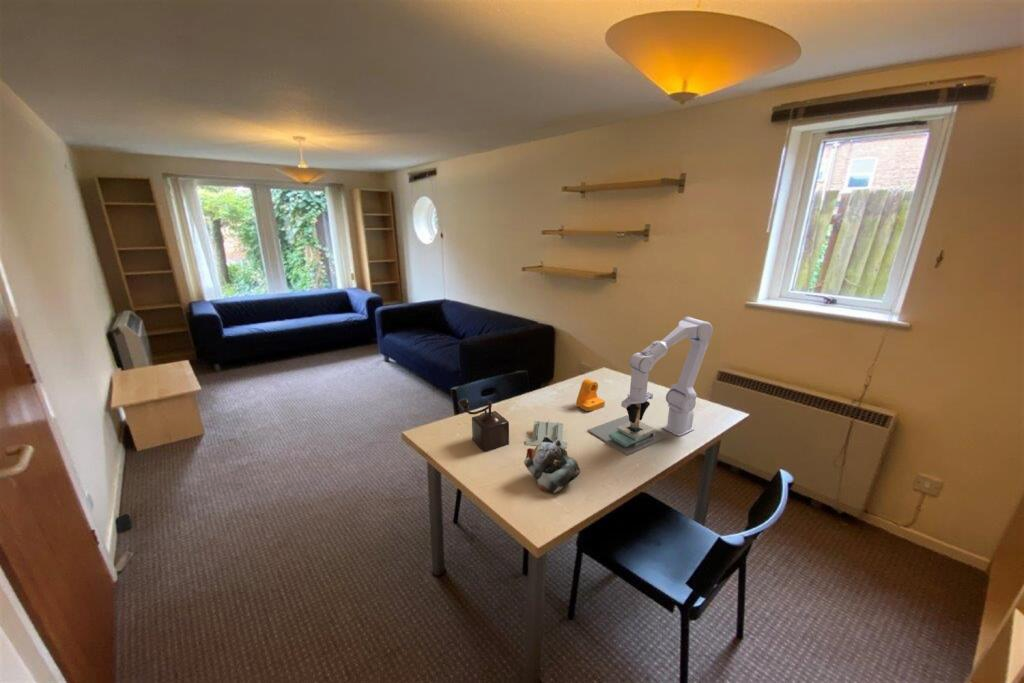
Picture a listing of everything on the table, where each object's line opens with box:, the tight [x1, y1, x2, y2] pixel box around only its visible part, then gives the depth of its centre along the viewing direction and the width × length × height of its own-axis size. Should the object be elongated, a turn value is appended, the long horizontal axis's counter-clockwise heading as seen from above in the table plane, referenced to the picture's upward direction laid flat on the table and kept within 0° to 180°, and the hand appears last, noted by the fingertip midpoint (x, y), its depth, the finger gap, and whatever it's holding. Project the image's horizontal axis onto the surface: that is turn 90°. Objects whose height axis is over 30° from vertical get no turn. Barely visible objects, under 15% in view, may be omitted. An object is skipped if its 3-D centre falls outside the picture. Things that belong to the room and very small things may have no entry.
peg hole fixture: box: [609, 420, 656, 447], centre depth 146 cm, size 15×9×4 cm, turn 123°
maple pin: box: [630, 403, 641, 428], centre depth 145 cm, size 3×3×9 cm
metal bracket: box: [525, 419, 568, 450], centre depth 149 cm, size 14×6×15 cm
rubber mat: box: [587, 414, 669, 456], centre depth 151 cm, size 22×20×1 cm
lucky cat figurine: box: [523, 437, 581, 494], centre depth 124 cm, size 15×12×14 cm
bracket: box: [575, 378, 606, 412], centre depth 172 cm, size 11×7×12 cm, turn 124°
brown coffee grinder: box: [458, 397, 510, 453], centre depth 143 cm, size 16×11×18 cm
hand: (635, 420), depth 145 cm, fingers closed on maple pin, 3 cm apart
